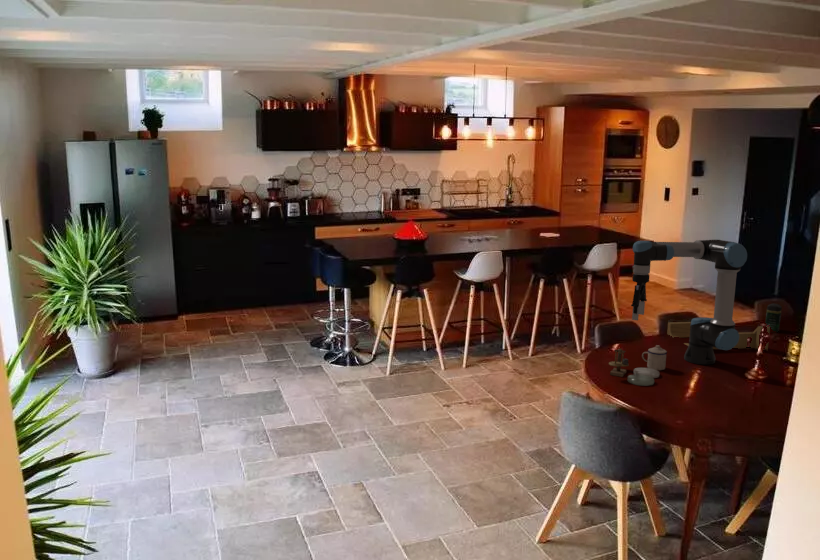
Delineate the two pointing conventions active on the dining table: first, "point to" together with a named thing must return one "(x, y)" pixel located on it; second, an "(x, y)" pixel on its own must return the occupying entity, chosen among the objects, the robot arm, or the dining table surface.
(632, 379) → the dish
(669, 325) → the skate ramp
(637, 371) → the dish
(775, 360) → the dining table surface
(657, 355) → the teacup with lid
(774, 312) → the coffee jar
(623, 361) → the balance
